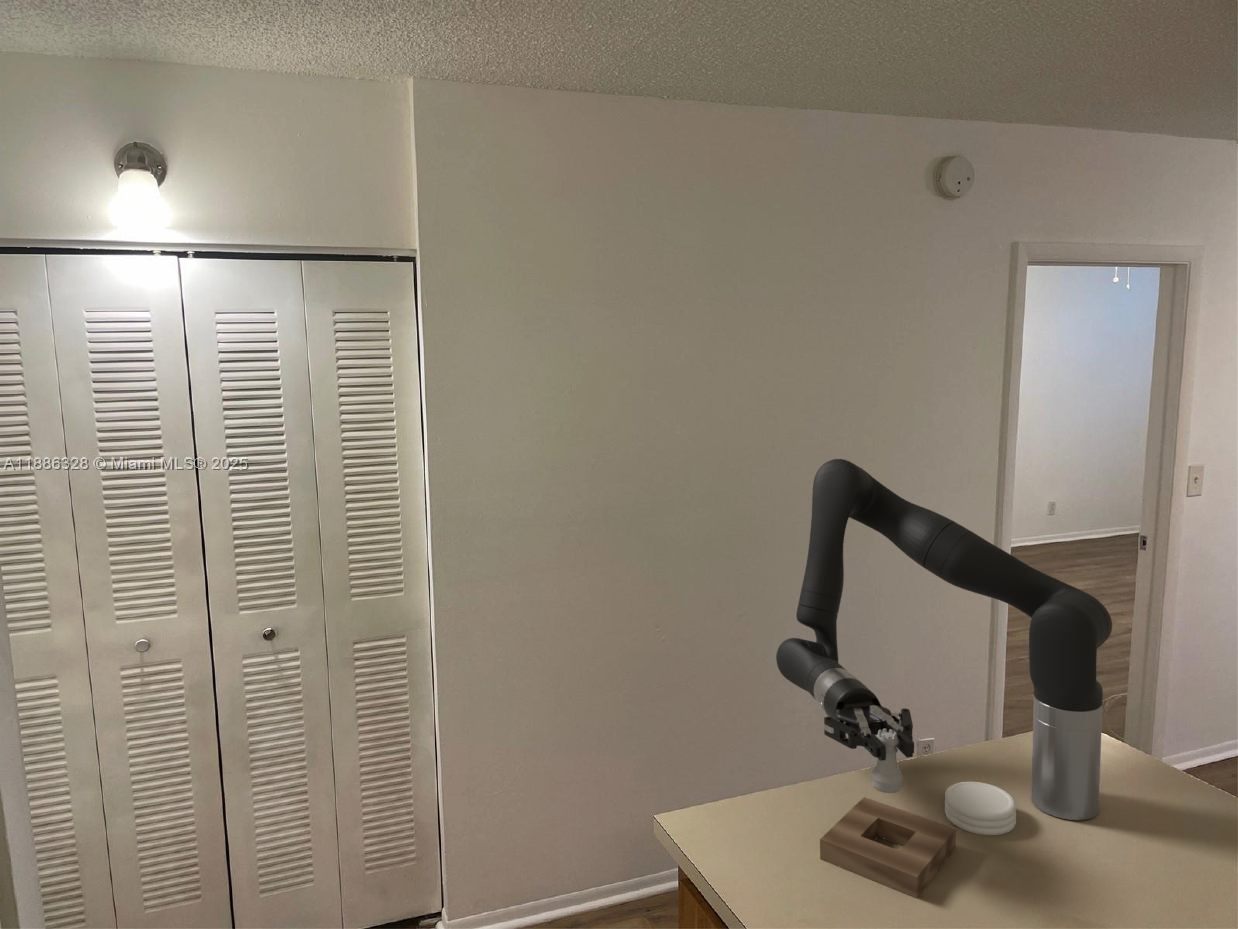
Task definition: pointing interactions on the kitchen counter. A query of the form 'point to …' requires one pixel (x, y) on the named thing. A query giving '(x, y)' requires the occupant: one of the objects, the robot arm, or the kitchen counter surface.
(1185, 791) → the kitchen counter surface
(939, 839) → the socket block
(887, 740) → the rook chess piece
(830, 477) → the robot arm
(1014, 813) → the coaster
